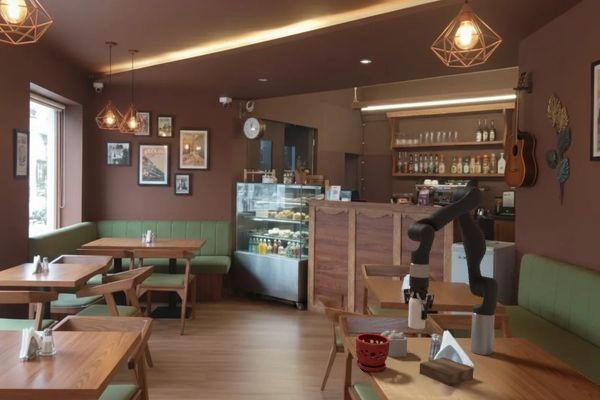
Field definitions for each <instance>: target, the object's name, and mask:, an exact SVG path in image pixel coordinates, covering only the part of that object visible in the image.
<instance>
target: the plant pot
mask: <svg viewBox="0 0 600 400" xmlns="http://www.w3.org/2000/svg"><path fill="white" fill-rule="evenodd" d="M371 341H373V342H371ZM381 341H382V342H383V343H382V344H380V342H381ZM389 345H390V340H389V339H388V338H387V337H385V336H382V335H381V334H378V333H370V332H369V333H361V334H358V335H357V336H356V337H355V354H356V358H357V359H356V361H355V364H356V366H357V367H358V368H359V369H361V370H363V371H366V372H373V373H374V372H380V371H383V370H384V369H386V366H387V364H386V361H387V359H388V352H389Z"/></svg>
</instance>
